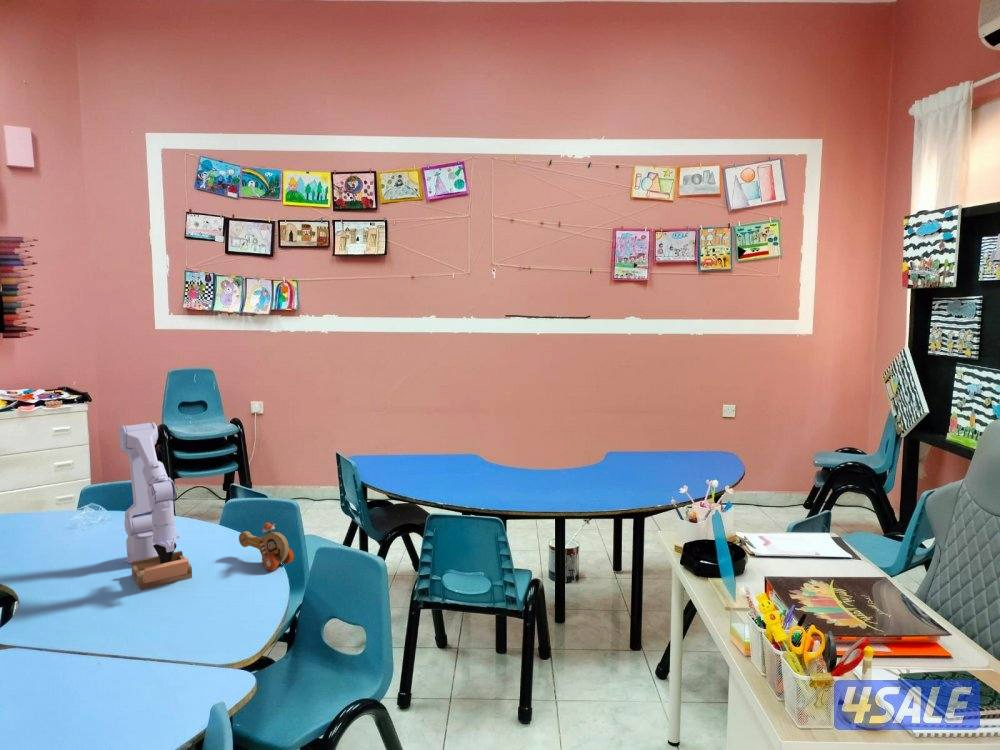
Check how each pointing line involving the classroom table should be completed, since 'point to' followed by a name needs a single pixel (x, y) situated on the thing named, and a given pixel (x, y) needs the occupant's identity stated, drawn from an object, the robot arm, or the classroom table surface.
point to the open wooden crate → (140, 565)
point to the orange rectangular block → (166, 570)
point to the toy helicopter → (269, 546)
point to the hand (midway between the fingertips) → (166, 567)
